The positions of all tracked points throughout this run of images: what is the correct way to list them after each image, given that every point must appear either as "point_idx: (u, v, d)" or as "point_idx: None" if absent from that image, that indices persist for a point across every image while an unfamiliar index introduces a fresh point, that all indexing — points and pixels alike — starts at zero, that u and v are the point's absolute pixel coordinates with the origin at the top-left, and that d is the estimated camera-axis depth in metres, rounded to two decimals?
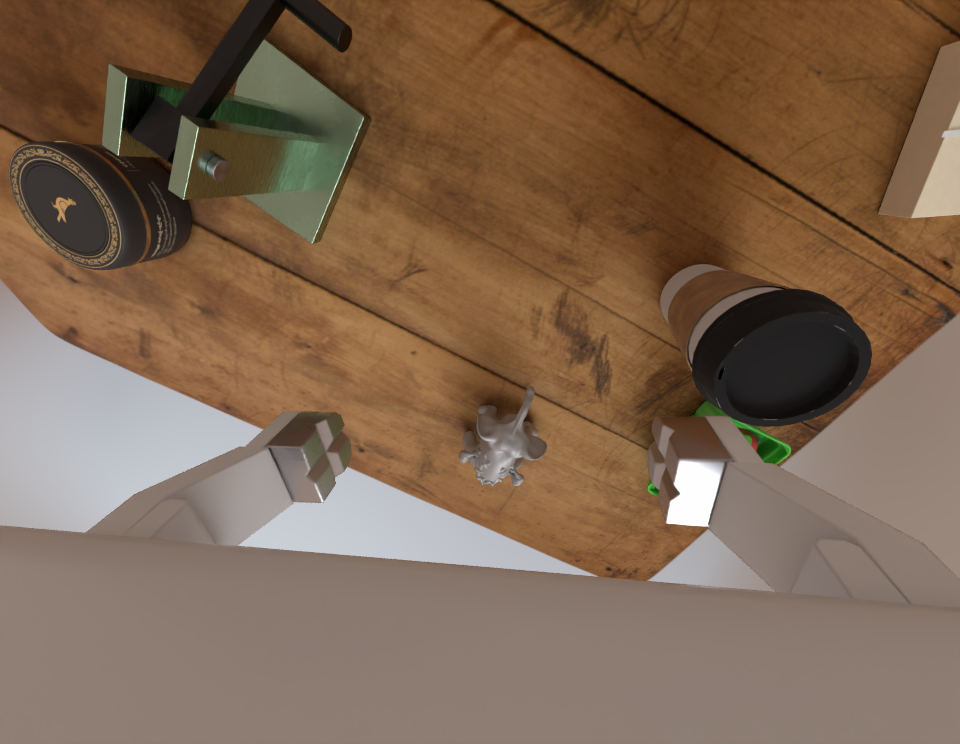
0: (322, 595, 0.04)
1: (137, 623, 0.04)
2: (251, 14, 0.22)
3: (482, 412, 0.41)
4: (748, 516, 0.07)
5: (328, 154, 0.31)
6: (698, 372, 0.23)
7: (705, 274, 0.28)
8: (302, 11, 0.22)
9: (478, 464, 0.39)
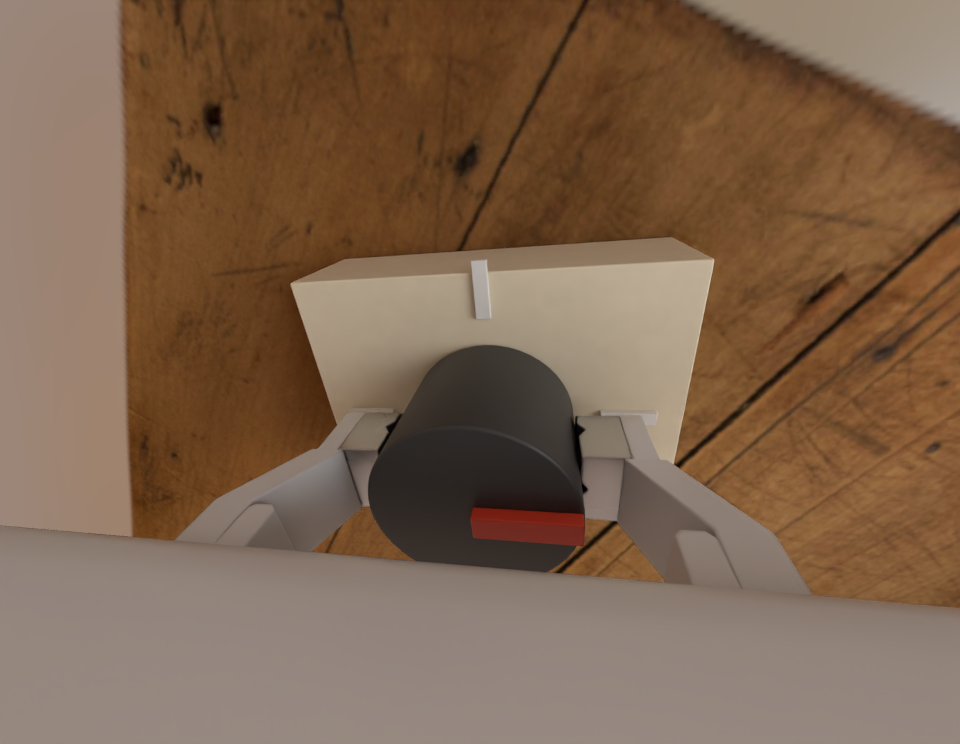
0: (322, 595, 0.04)
1: (137, 623, 0.04)
2: None
3: None
4: (643, 510, 0.07)
5: None
6: None
7: None
8: None
9: None
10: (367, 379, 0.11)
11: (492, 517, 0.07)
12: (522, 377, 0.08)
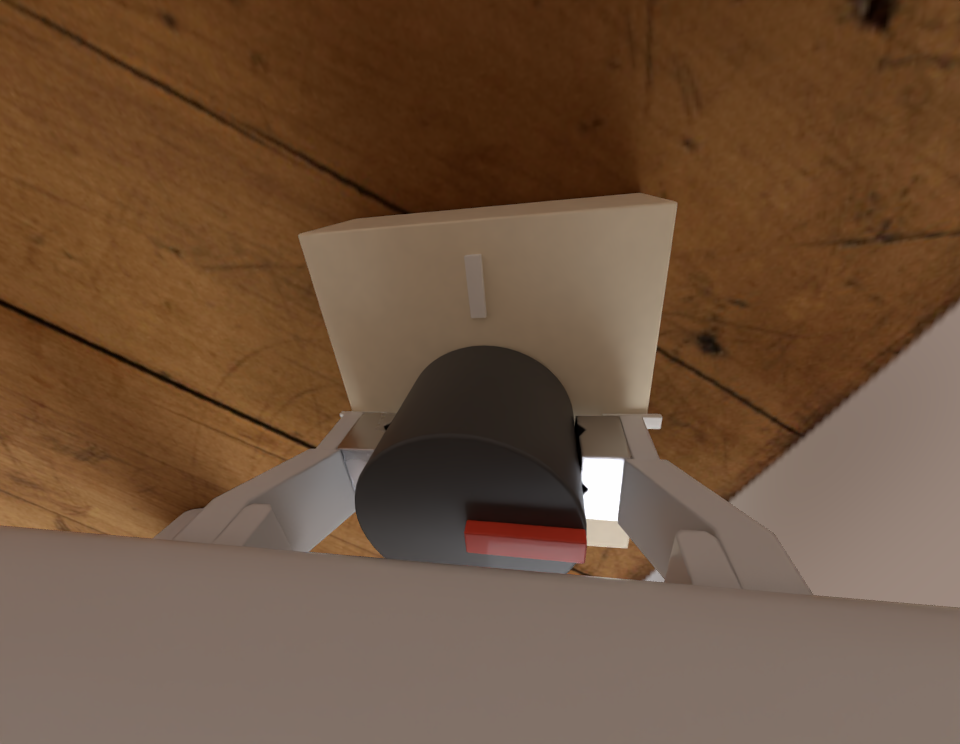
0: (322, 595, 0.04)
1: (137, 623, 0.04)
2: None
3: None
4: (643, 510, 0.07)
5: None
6: None
7: None
8: None
9: None
10: (529, 286, 0.08)
11: (487, 531, 0.06)
12: (522, 380, 0.08)
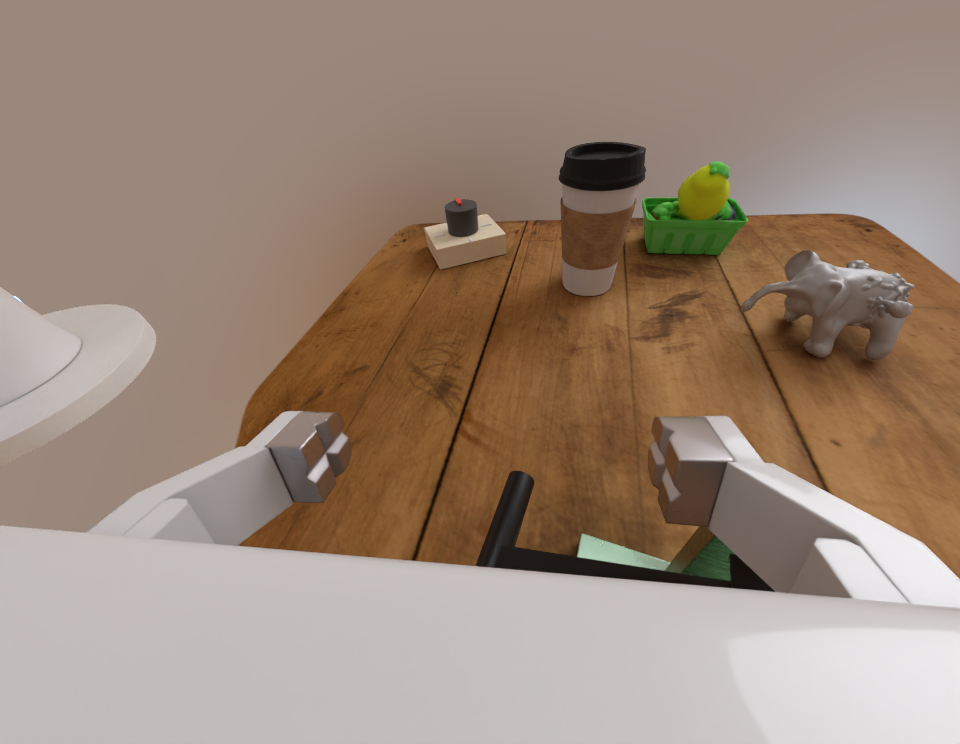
0: (322, 595, 0.04)
1: (137, 623, 0.04)
2: (535, 564, 0.16)
3: (823, 344, 0.33)
4: (748, 516, 0.07)
5: None
6: (631, 176, 0.34)
7: (571, 262, 0.42)
8: (511, 515, 0.18)
9: (888, 292, 0.30)
10: (437, 232, 0.53)
11: (457, 202, 0.51)
12: None
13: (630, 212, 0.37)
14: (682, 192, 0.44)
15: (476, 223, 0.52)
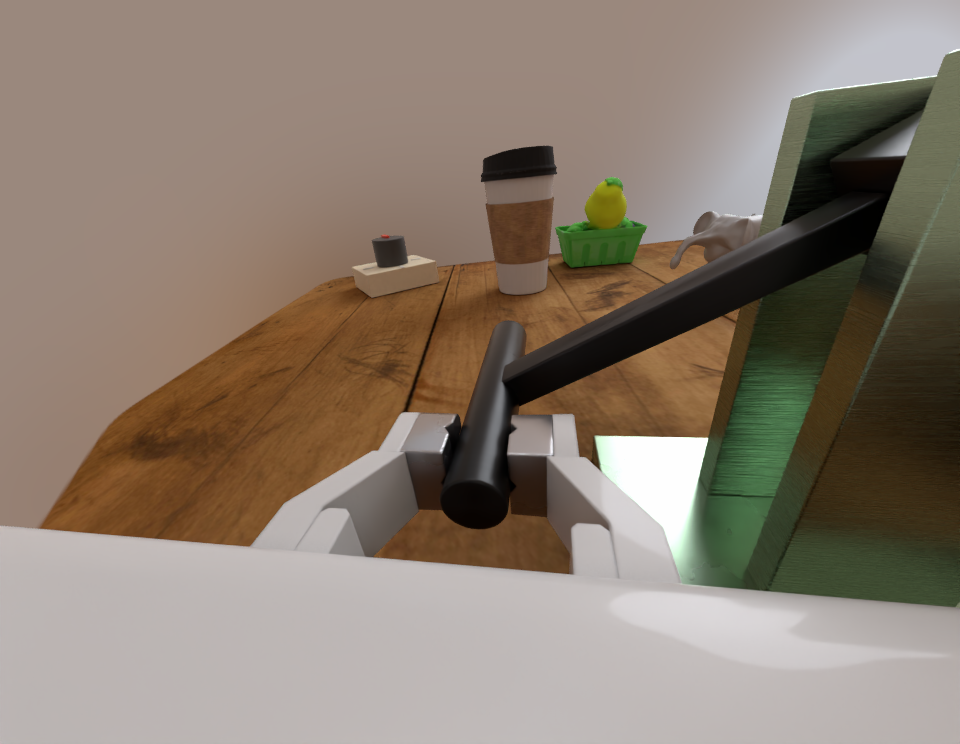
0: (322, 595, 0.04)
1: (137, 623, 0.04)
2: (563, 343, 0.10)
3: None
4: (562, 506, 0.07)
5: (698, 459, 0.16)
6: (546, 165, 0.37)
7: (505, 259, 0.42)
8: (508, 345, 0.13)
9: None
10: (366, 267, 0.52)
11: (384, 236, 0.51)
12: None
13: (551, 204, 0.40)
14: (588, 207, 0.49)
15: (405, 254, 0.52)
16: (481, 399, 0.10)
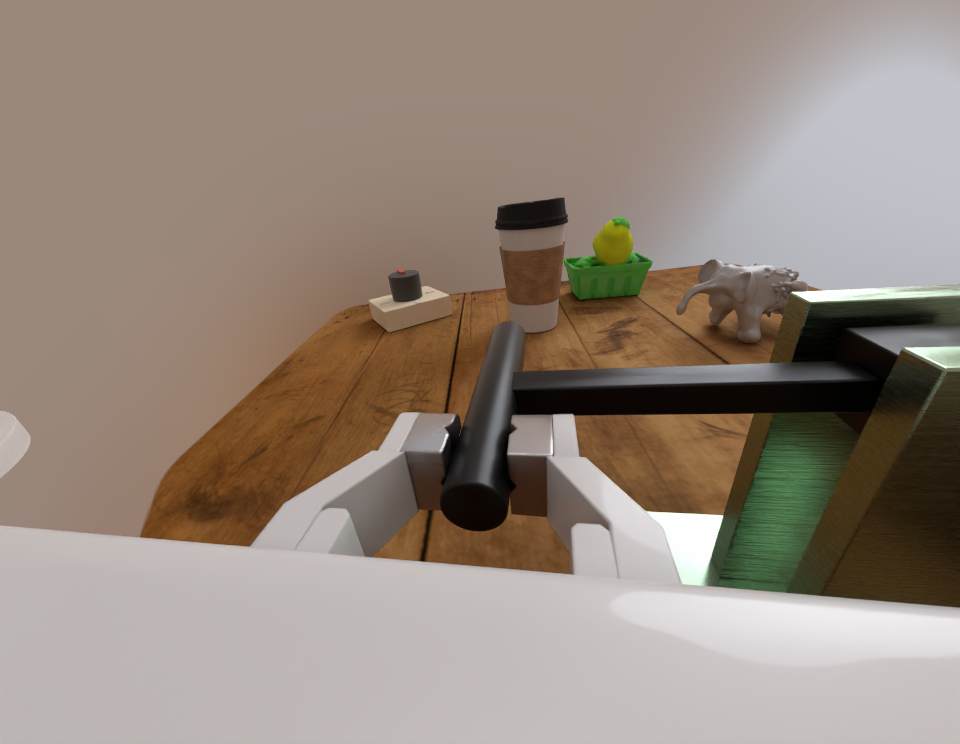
0: (322, 595, 0.04)
1: (137, 623, 0.04)
2: (581, 378, 0.11)
3: (753, 329, 0.37)
4: (562, 506, 0.07)
5: (710, 539, 0.18)
6: (558, 216, 0.40)
7: (518, 300, 0.44)
8: (516, 351, 0.13)
9: (784, 278, 0.36)
10: (382, 301, 0.54)
11: (400, 272, 0.54)
12: None
13: (562, 249, 0.42)
14: (596, 244, 0.51)
15: (420, 289, 0.54)
16: (493, 400, 0.10)
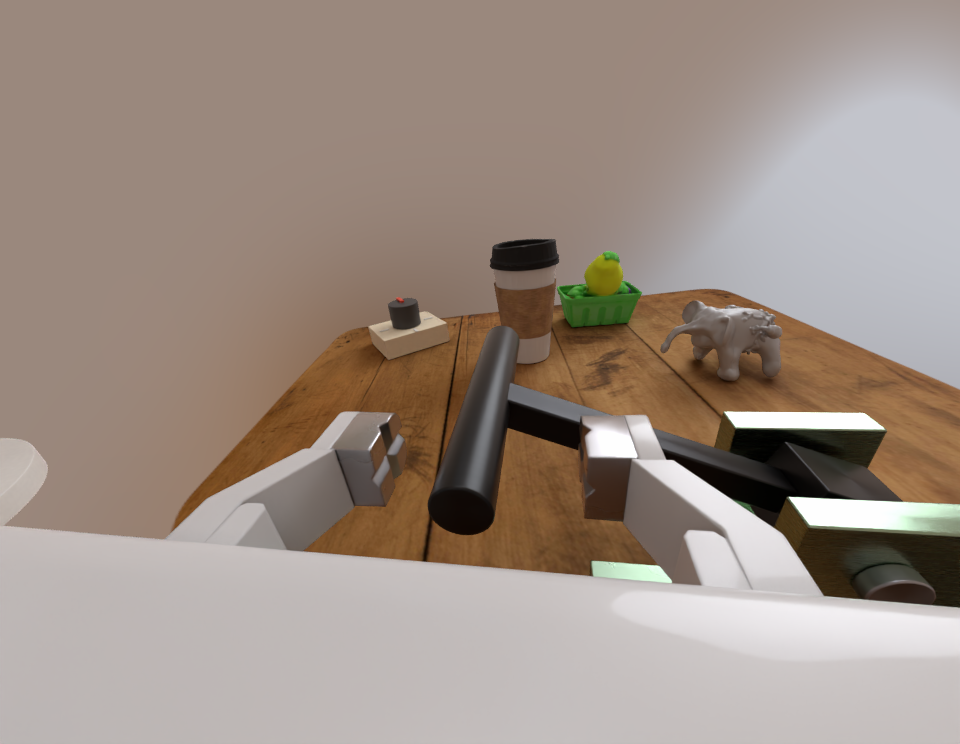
0: (322, 595, 0.04)
1: (137, 623, 0.04)
2: (571, 411, 0.11)
3: (732, 369, 0.39)
4: (649, 511, 0.07)
5: None
6: (549, 258, 0.42)
7: None
8: (513, 361, 0.13)
9: (761, 321, 0.39)
10: (382, 328, 0.57)
11: (399, 300, 0.56)
12: None
13: (553, 287, 0.45)
14: (588, 276, 0.54)
15: (418, 316, 0.56)
16: (492, 408, 0.10)
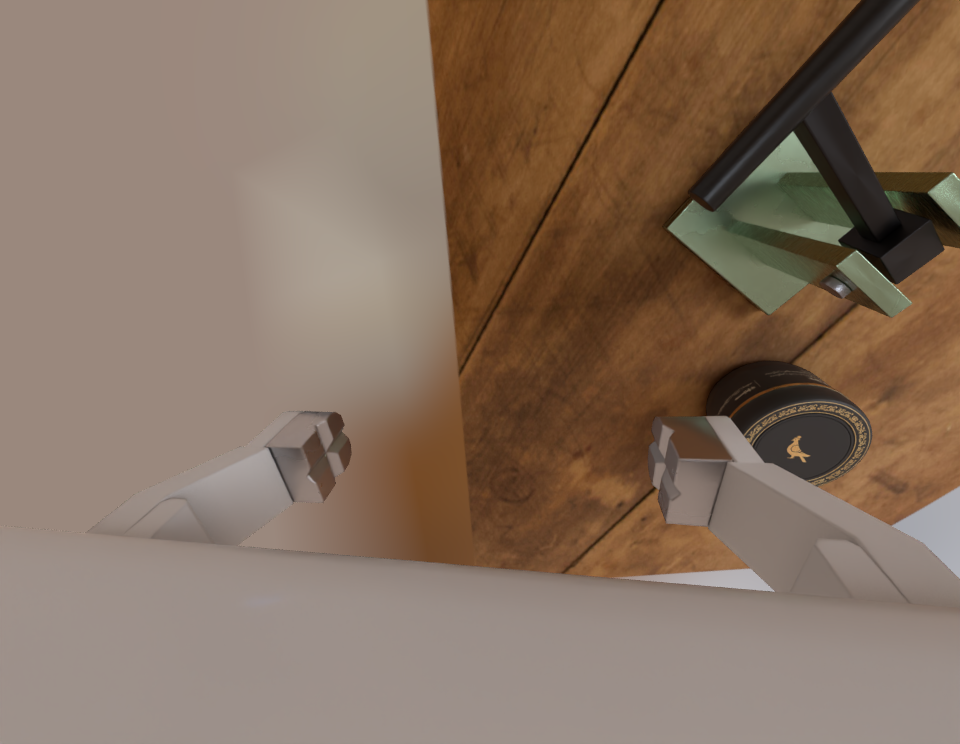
0: (322, 595, 0.04)
1: (137, 623, 0.04)
2: (836, 141, 0.15)
3: None
4: (748, 516, 0.07)
5: (804, 162, 0.26)
6: None
7: None
8: None
9: None
10: None
11: None
12: None
13: None
14: None
15: None
16: (779, 139, 0.14)
